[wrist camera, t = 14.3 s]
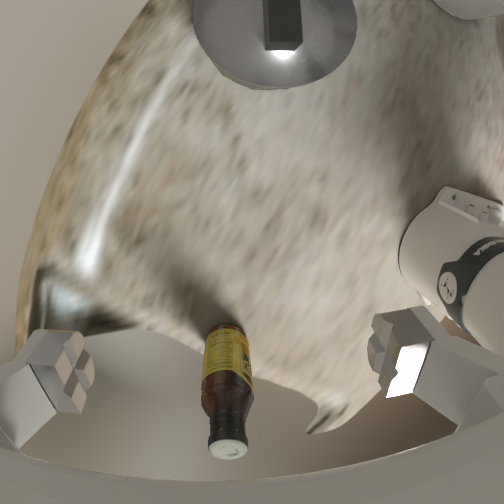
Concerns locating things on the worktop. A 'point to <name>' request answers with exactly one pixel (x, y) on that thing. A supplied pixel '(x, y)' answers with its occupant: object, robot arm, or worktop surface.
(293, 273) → the worktop surface
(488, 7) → the utensil holder
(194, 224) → the worktop surface
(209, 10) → the lid
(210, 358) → the sauce bottle
